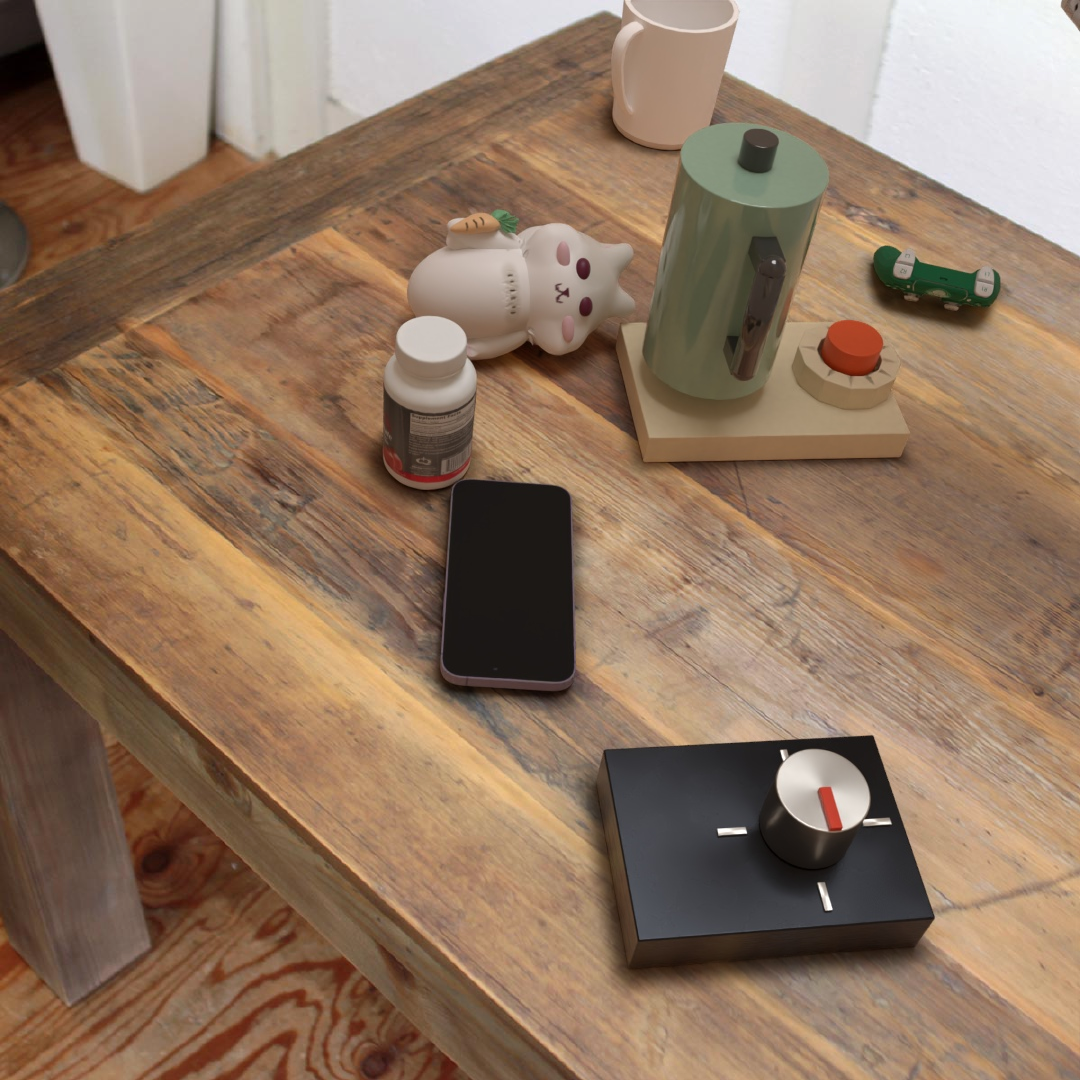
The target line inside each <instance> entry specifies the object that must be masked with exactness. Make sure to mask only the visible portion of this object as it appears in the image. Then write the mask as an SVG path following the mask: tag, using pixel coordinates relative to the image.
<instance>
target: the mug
mask: <svg viewBox="0 0 1080 1080" xmlns="http://www.w3.org/2000/svg"><path fill="white" fill-rule="evenodd" d="M740 12H741V11H740V8H739V5H738V2H736V0H623V5H622V13H621V24H620V30H619V31H618V33H617V34H616V36H615V39H614V42H613V44H612V48H611V49H612V50H611V56H610V57H611V58H610V71H611V72H610V73H611V74H610V76H611V85H612V92H613V103H612V114H611V115H612V116H611V117H612V121H613V124H614V126H615V127H616V129H617V131H618V132H619V133H620V134H621V135H622V136H624V137H625V138H626V139H628V140H630V141H631V142H633V143H636V144H638V145H640V146H643V147H646V148H651V149H655V150H665V151H677V150H681V148H682V146H683V144H684V142H685V141H686V139H687V138H688V137H689V136H690V135H692V134H693V133H695V132H696V131H698V130H700V129H702V128H705V127H708V126H711V122H712V118H713V114H714V110H715V106H716V102H717V99H718V95H719V91H720V87H721V84H722V80H723V76H724V73H725V69H726V65H727V61H728V58H729V54H730V50H731V47H732V44H733V43H732V42H733V39H734V36H735V31H736V29H737V23H738V20H739V17H740Z"/></svg>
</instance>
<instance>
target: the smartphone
mask: <svg viewBox="0 0 1080 1080" xmlns="http://www.w3.org/2000/svg"><path fill="white" fill-rule="evenodd" d="M449 505H450V506H449V518H448V519H449V520H448V534H447V536H448V537H447V550H446V551H447V552H446V566H445V567H446V568H445V581H444V582H445V583H444V593H443V602H442V605H443V606H442V628H441V629H442V631H441V643H440V644H441V647H440V659H439V669H440V673H441V676H442V677H443V679H444V680H446V681H447V682H448V683H450V684H453V685H456V686H462V687H463V686H466V687H480V688H495V689H515V690H530V691H543V692H544V691H546V692H559V691H564V690H567V689H568V688H569V687H570V686H571V685H572V684H573V683H574V680H575V676H576V670H577V641H576V601H575V569H574V568H575V566H574V529H573V528H574V525H573V498H572V495H571V493H570V491H568V489H566V488H565V487H563V486H560V485H557V484H549V483H534V482H521V481H507V480H495V479H492V480H491V479H481V478H463V479H459V480H458V481H457V482H455V483H453V485H452V488H451V491H450V504H449Z"/></svg>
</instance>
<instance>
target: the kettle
mask: <svg viewBox="0 0 1080 1080" xmlns="http://www.w3.org/2000/svg"><path fill="white" fill-rule="evenodd" d="M829 183H830V171H829V168H828V165H827V163H826V161H825V159H824V158H823V157H822V155H821V154H820V153H819V152H818V151H817V150H816V149H815V148H814V147H813V146H811V145H810V144H809V143H807V142H805V141H804V140H802V138H799V137H797V136H795V135H793V134H791V133H788V132H787V131H784V130H781V129H778V128H775V127H771V126H767V125H762V124H759V123H749V122H723V123H717V124H712V125H711V124H710V126H708V127H705V128H702V129H700V130H698V131H696V132H695V133H693V134H692V135H690V136H689V137H688V138H687V139H686V141H685V142H684V144H683V146H682V148H681V149H680V152H679V157H678V162H677V167H676V172H675V176H674V182H673V186H672V192H671V196H670V197H671V198H670V200H669V201H670V202H669V207H668V212H667V215H666V222H665V227H664V232H663V236H662V242H661V246H660V247H661V248H660V251H659V255H658V256H659V257H658V260H657V261H658V262H657V268H656V272H655V276H654V282H653V287H652V293H651V297H650V302H649V307H648V312H647V316H646V322H645V323H646V326H645V331H644V336H643V341H642V353H643V357H644V359H645V362H646V364H647V365H648V367H649V369H650V370H651V371H652V372H653V373H654V374H655V375H656V376H657V377H658V378H659V379H660V380H661V381H662V382H664V383H665V384H667V385H668V386H670V387H672V388H674V389H676V390H678V391H680V392H682V393H685V394H688V395H691V396H694V397H699V398H703V399H711V400H729V399H736V398H740V397H744V396H747V395H749V394H752V393H753V392H755V391H757V390H758V389H760V388H761V387H762V386H763V385H764V384H765V383H766V382H767V381H768V379H769V378H770V376H771V373H772V370H773V367H774V363H775V360H776V357H777V353H778V350H779V347H780V343H781V340H782V337H783V333H784V330H785V327H786V323H787V322H788V320H789V316H790V313H791V310H792V306H793V303H794V299H795V297H796V293H797V291H798V286H799V284H800V280H801V278H802V277H801V276H802V273H803V270H804V266H805V263H806V259H807V257H808V253H809V250H810V246H811V244H812V240H813V236H814V233H815V230H816V227H817V223H818V219H819V217H820V213H821V209H822V206H823V203H824V199H825V196H826V193H827V190H828V186H829Z"/></svg>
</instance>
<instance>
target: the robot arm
mask: <svg viewBox="0 0 1080 1080" xmlns="http://www.w3.org/2000/svg"><path fill="white" fill-rule="evenodd" d="M1060 8H1061V10H1063V12H1064V13H1065V15H1066V16H1067V17H1068V18H1069V20H1070V21H1071V23H1073V24H1074V26H1075V27H1076V28H1077V30H1078V31H1079V32H1080V0H1061V1H1060Z"/></svg>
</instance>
